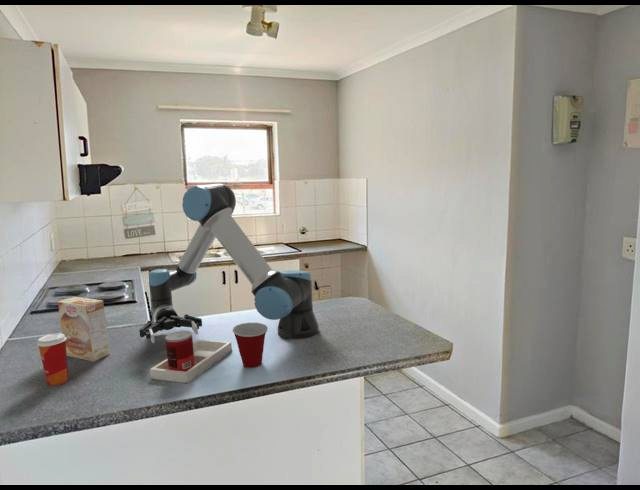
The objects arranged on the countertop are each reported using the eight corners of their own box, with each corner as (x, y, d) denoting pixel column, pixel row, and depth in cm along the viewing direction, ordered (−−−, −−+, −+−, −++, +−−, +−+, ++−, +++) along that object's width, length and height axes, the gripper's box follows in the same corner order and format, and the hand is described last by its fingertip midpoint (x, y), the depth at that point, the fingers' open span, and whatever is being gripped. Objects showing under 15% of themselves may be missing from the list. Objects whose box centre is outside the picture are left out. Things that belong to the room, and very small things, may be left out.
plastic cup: (255, 374, 139) (252, 335, 137) (228, 367, 144) (224, 330, 142) (277, 360, 148) (274, 324, 146) (251, 355, 153) (248, 320, 151)
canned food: (198, 364, 147) (195, 330, 145) (189, 375, 139) (185, 339, 137) (175, 364, 147) (171, 331, 146) (164, 375, 140) (160, 340, 138)
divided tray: (199, 347, 163) (198, 339, 162) (232, 350, 158) (231, 342, 158) (151, 378, 139) (150, 369, 139) (187, 383, 135) (186, 373, 134)
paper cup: (50, 377, 144) (44, 333, 142) (76, 374, 145) (70, 331, 143) (38, 388, 137) (30, 343, 135) (65, 386, 137) (58, 341, 135)
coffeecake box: (64, 355, 162) (56, 301, 159) (83, 348, 168) (75, 296, 165) (92, 362, 155) (84, 305, 152) (111, 354, 161) (103, 299, 158)
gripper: (201, 320, 175) (214, 338, 156) (130, 334, 164) (135, 353, 145) (200, 301, 174) (212, 316, 155) (128, 313, 163) (132, 330, 144)
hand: (175, 334), depth 150 cm, fingers open, 13 cm apart
